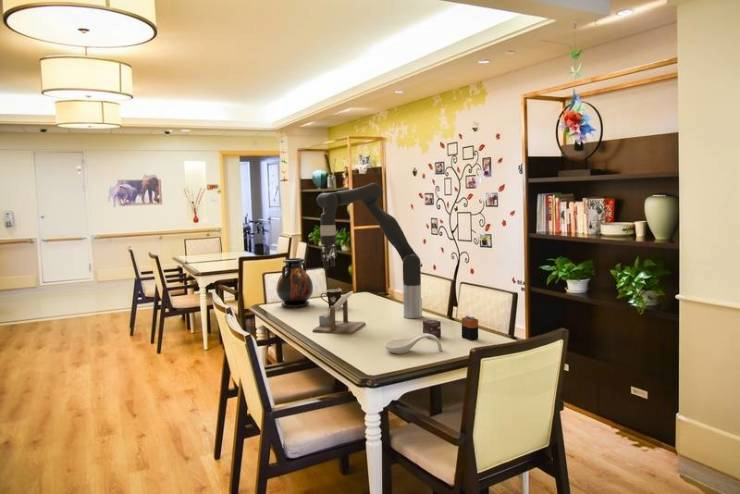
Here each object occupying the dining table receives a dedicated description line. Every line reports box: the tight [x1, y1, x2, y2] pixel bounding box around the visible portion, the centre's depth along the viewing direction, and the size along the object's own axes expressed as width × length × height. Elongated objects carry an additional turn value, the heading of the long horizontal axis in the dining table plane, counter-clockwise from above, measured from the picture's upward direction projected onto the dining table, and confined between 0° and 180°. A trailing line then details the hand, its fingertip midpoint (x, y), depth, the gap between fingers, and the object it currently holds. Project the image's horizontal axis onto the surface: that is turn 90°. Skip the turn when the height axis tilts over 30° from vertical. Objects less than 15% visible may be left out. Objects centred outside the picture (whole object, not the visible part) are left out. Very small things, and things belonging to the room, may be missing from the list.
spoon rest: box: [384, 332, 443, 355], centre depth 227 cm, size 24×12×7 cm, turn 94°
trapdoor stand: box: [312, 298, 366, 335], centre depth 268 cm, size 20×20×13 cm
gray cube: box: [318, 313, 330, 326], centre depth 270 cm, size 5×5×5 cm
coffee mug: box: [320, 288, 342, 309], centre depth 318 cm, size 12×9×10 cm
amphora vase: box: [276, 257, 314, 309], centre depth 324 cm, size 22×22×28 cm
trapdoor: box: [324, 290, 354, 318], centre depth 267 cm, size 14×14×1 cm
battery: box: [461, 315, 479, 342], centre depth 244 cm, size 4×7×10 cm, turn 31°
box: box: [422, 319, 442, 340], centre depth 248 cm, size 6×6×7 cm
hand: (329, 267), depth 267 cm, fingers open, 8 cm apart
